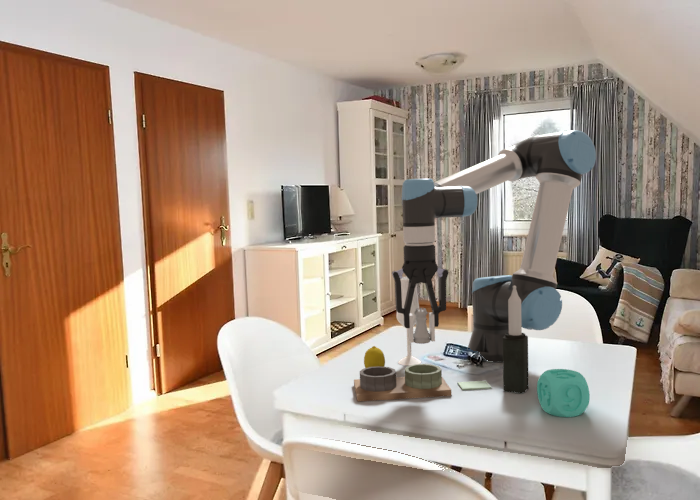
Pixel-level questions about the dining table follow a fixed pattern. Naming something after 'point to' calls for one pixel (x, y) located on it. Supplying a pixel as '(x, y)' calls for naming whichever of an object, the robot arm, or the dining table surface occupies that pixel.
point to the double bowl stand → (401, 383)
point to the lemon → (374, 358)
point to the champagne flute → (409, 358)
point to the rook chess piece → (421, 327)
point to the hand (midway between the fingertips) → (421, 340)
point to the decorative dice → (563, 392)
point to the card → (474, 385)
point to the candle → (515, 349)
